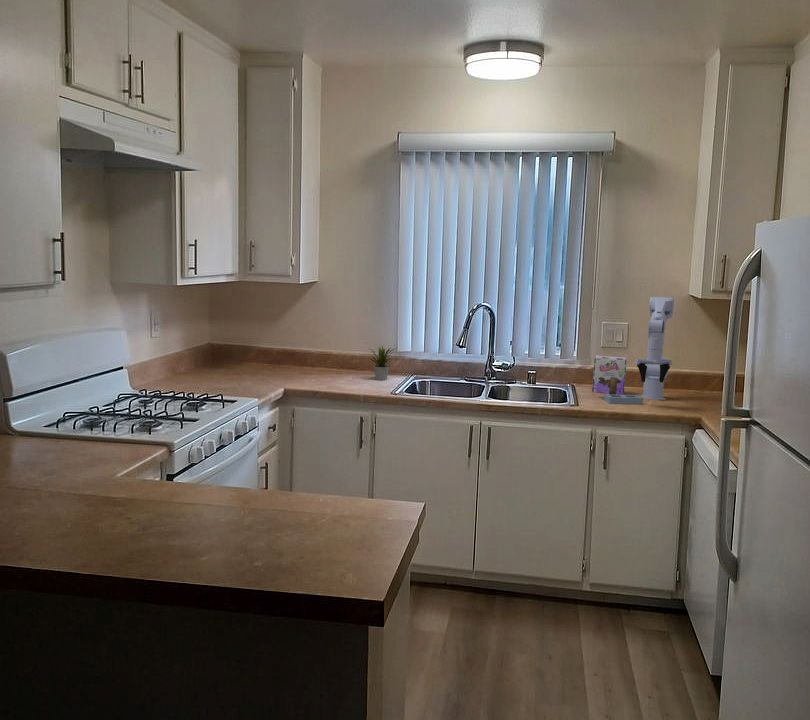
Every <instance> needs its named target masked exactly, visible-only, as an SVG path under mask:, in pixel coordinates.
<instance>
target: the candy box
mask: <svg viewBox="0 0 810 720" xmlns="http://www.w3.org/2000/svg"><path fill="white" fill-rule="evenodd" d="M627 361H628V358H627V357H623V356H622V357H619V356H606V355H597V354H596V355H595V356H594V363H593V373H592V389H591V392H592V393H596V394H609V388H610V377H616V378H617V392H616V395H625V385H626V373H627V372H626V371H627Z"/></svg>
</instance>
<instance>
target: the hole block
mask: <svg viewBox="0 0 810 720" xmlns="http://www.w3.org/2000/svg"><path fill="white" fill-rule="evenodd" d="M603 397H604V400H603V401H604V402H606V403H608V404H610V405H611V404H612V405H643V403H644V397H643V396H641V395H637V394H624V395H618V394H616V395H612V394H607V393H604V396H603Z"/></svg>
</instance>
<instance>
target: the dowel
mask: <svg viewBox="0 0 810 720" xmlns="http://www.w3.org/2000/svg"><path fill="white" fill-rule="evenodd" d="M616 392H617V378H616V377H610V388H609V394H612V395H617V394H616Z"/></svg>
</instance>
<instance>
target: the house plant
mask: <svg viewBox="0 0 810 720" xmlns="http://www.w3.org/2000/svg"><path fill="white" fill-rule="evenodd" d="M369 350H371V352H372V353H373V354H374V356H371V357H372V359H371V358H370V359H369V360H370V361H371V362H374V363H375V365H373V368H374V370H373V371H374V378H375V380H376V381H387V380H388V375H389V368H390V366H389V365H388V364H389V362H391V361H392V360H393V361H394V362H395V357H392V358H389V357H390V356H391V355H392V354H393V353H394V350H395V348H393V349H391V347H389V348H388V349H387V350H386V349H385V348H384V346H383V345H379V347H378V350H377V351H378V356H377V354H376V352H375V351H374V350H373V349H371V348H369Z"/></svg>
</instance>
